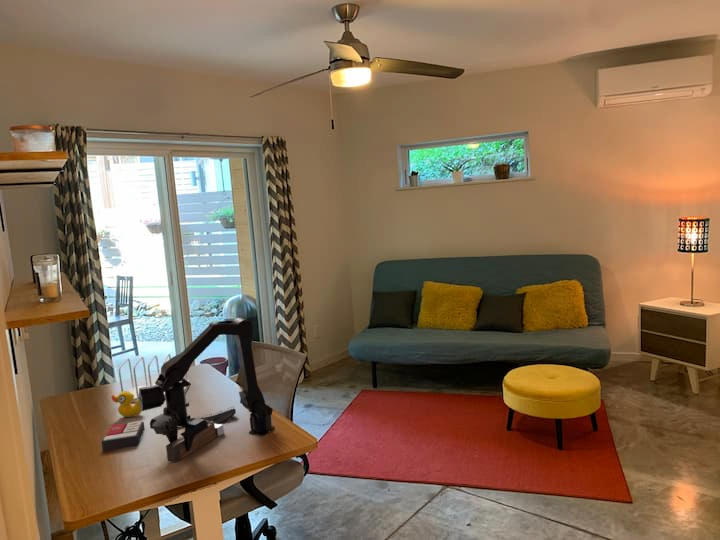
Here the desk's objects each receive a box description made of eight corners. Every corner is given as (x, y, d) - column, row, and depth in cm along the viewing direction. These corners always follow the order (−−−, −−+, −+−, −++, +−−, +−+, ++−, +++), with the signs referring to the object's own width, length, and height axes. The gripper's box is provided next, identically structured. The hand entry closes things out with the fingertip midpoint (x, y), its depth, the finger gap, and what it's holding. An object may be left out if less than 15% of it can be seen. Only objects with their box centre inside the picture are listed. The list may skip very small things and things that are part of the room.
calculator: (143, 419, 189) (136, 433, 175) (145, 431, 190) (138, 446, 175) (110, 424, 187) (100, 439, 172) (112, 436, 187) (102, 452, 173)
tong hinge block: (224, 433, 180) (223, 424, 180) (218, 437, 177) (217, 428, 177) (213, 432, 182) (212, 423, 182) (207, 435, 179) (207, 426, 179)
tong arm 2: (216, 436, 177) (214, 421, 176) (175, 462, 161) (173, 445, 160) (212, 436, 178) (211, 420, 177) (171, 461, 161) (169, 444, 160)
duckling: (111, 420, 199) (107, 395, 198) (117, 414, 205) (114, 390, 204) (141, 418, 200) (138, 392, 198) (146, 412, 205) (143, 387, 204)
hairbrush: (164, 418, 191) (234, 403, 198) (166, 427, 192) (236, 412, 198) (162, 427, 183) (235, 411, 190) (164, 437, 184) (237, 421, 190)
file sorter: (190, 383, 237) (186, 350, 236) (183, 397, 220) (179, 360, 219) (131, 390, 234) (127, 356, 232) (120, 404, 217) (115, 367, 215)
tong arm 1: (211, 436, 178) (209, 420, 177) (171, 461, 161) (169, 444, 161) (208, 435, 179) (206, 420, 178) (167, 461, 162) (165, 444, 161)
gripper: (133, 408, 160) (139, 457, 162) (180, 415, 152) (186, 466, 154) (160, 396, 170) (166, 442, 172) (206, 401, 162) (211, 449, 164)
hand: (181, 450), depth 165 cm, fingers open, 5 cm apart
